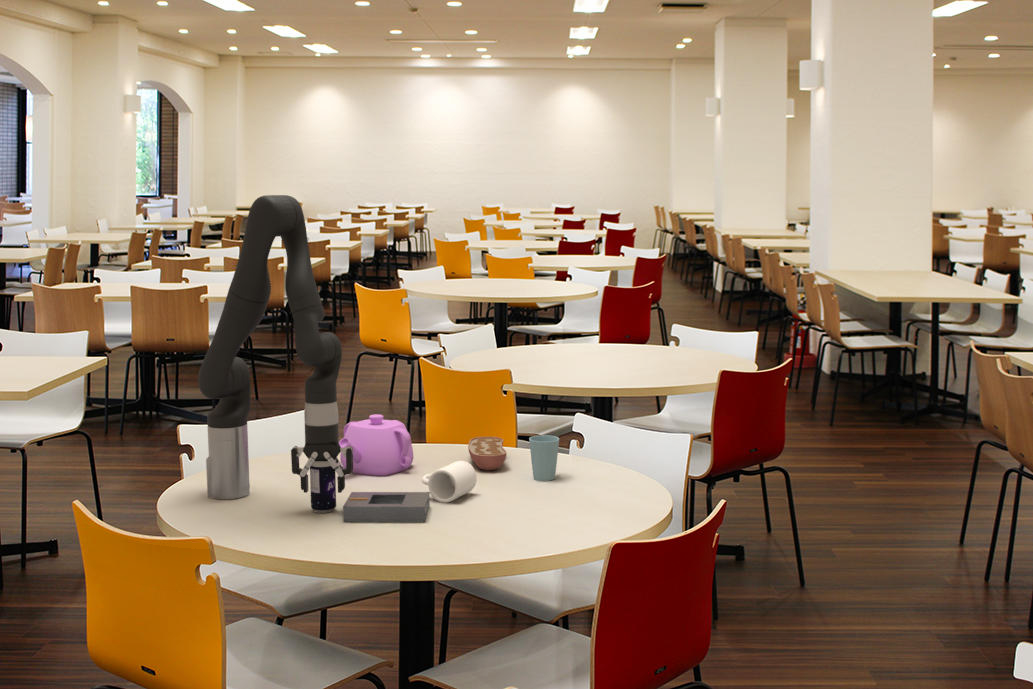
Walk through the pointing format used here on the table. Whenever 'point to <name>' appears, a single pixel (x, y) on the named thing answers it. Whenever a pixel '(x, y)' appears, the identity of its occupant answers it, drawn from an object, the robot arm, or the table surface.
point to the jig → (386, 507)
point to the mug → (451, 481)
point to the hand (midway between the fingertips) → (323, 491)
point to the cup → (544, 456)
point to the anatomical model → (487, 452)
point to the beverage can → (322, 487)
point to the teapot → (378, 446)
